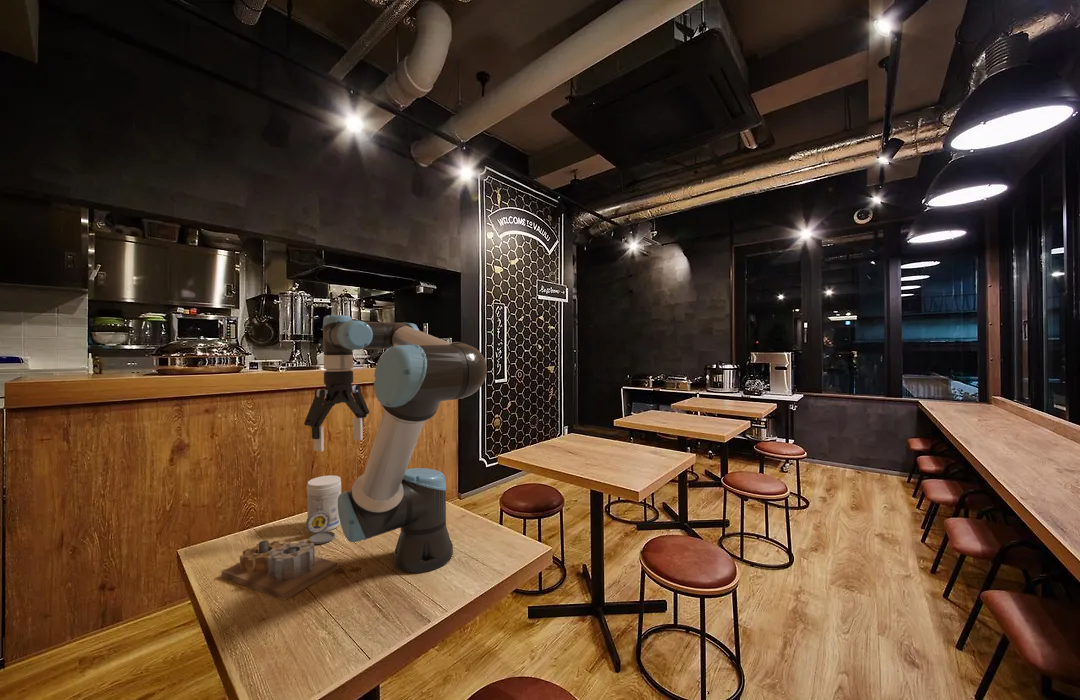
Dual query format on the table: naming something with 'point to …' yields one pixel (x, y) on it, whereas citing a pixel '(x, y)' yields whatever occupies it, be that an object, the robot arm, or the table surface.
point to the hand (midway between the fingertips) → (339, 445)
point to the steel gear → (291, 561)
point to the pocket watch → (319, 534)
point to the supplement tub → (324, 498)
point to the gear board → (256, 577)
